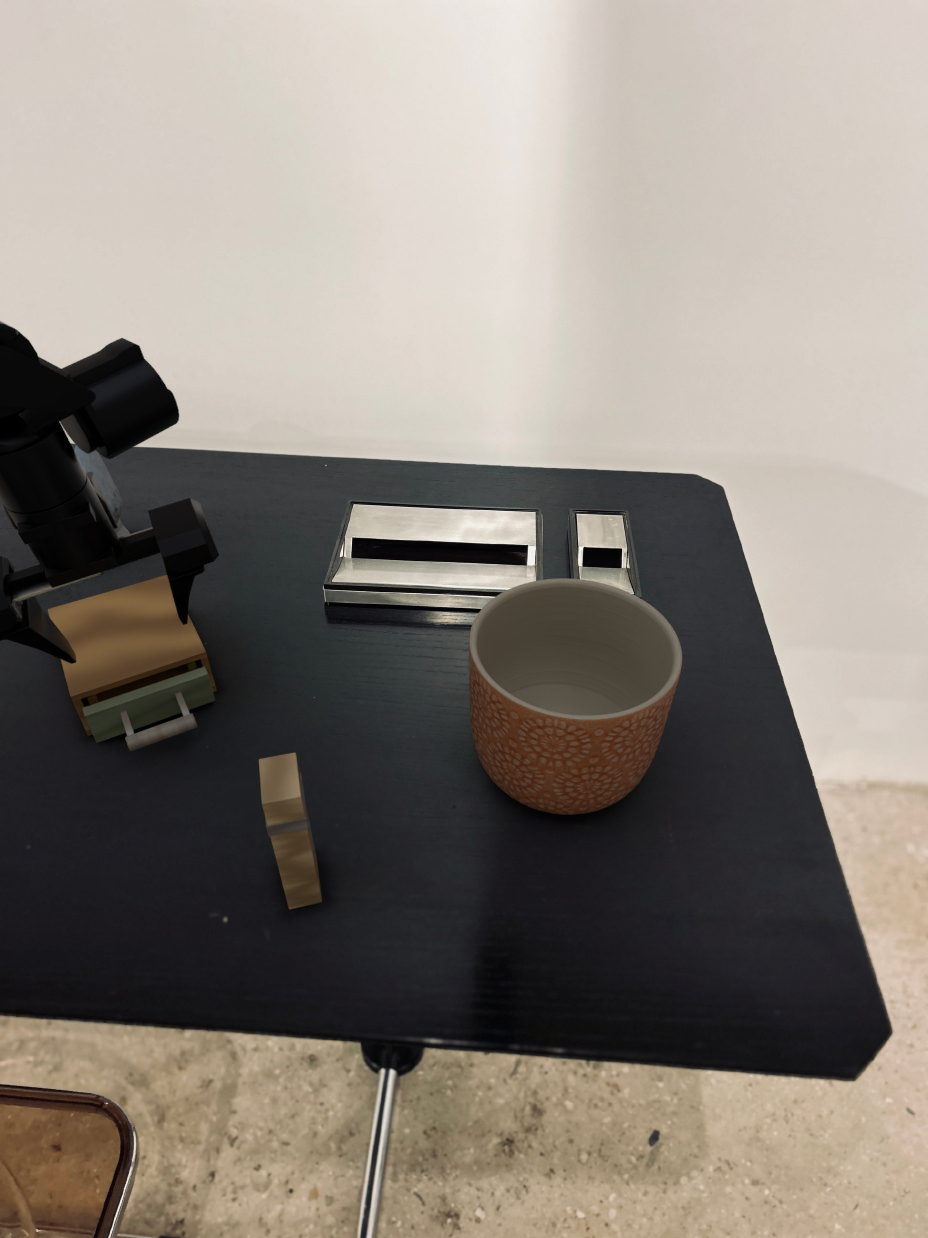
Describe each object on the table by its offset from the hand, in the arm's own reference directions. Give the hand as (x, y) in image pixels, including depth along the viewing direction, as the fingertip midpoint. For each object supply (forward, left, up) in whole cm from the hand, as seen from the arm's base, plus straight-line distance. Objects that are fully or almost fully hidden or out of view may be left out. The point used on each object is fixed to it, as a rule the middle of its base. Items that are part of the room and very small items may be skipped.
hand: (130, 640), depth 66 cm
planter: (+31, -20, -13) cm, 39 cm away
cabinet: (0, +12, -13) cm, 17 cm away
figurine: (0, +36, -13) cm, 38 cm away
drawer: (0, +6, -12) cm, 14 cm away
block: (+6, -20, -13) cm, 25 cm away
